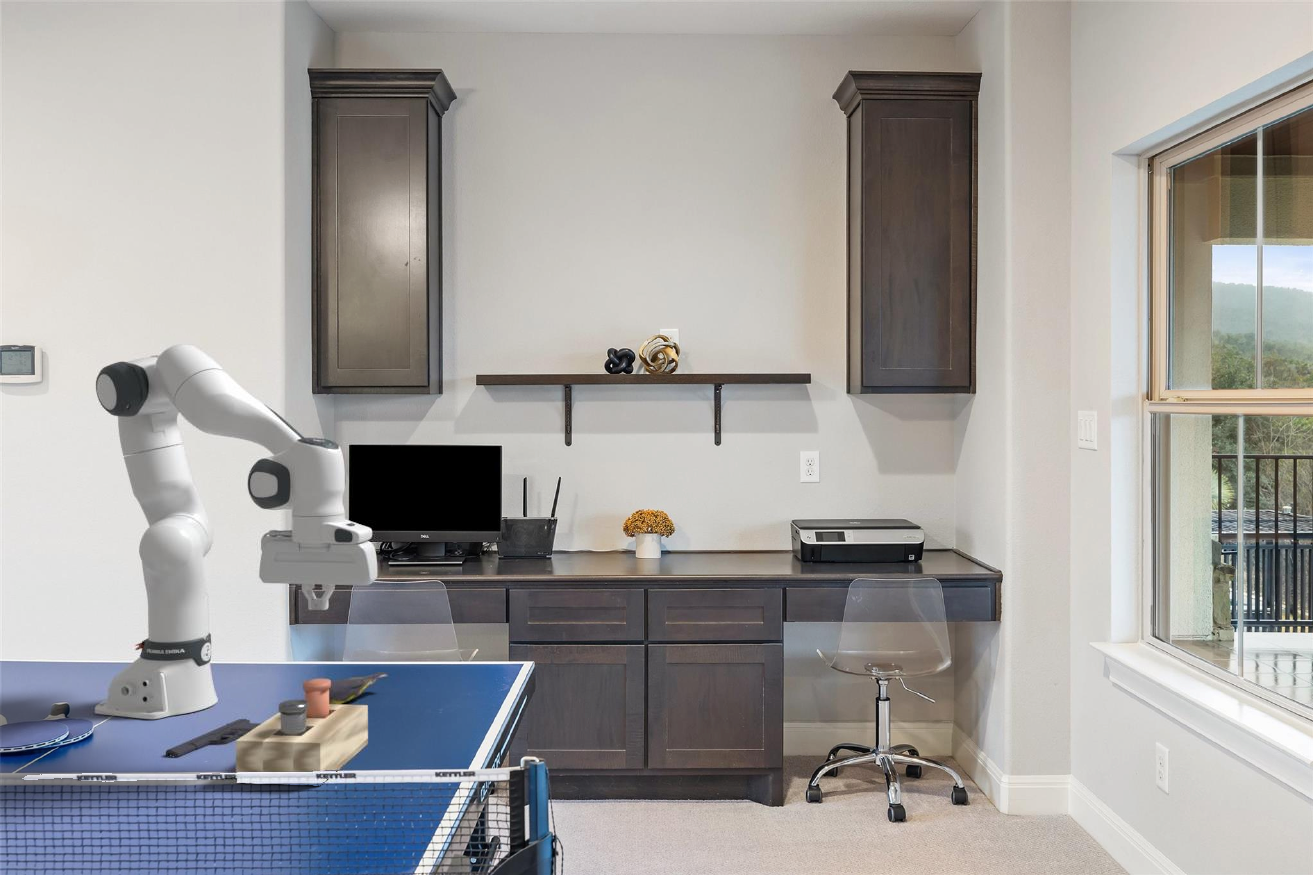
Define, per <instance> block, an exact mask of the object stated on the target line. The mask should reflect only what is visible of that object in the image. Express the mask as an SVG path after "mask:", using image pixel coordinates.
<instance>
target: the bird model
mask: <svg viewBox="0 0 1313 875" xmlns="http://www.w3.org/2000/svg"><path fill="white" fill-rule="evenodd" d="M388 676H389V675H388V674H387V673H385V672H376V673H374V674H370V675H364V676H358V677H356V676H355V677H354V676H353V677H347V678H340V679H338V680H334V681H331V687H330V688H329V704H338V705H343V704H344V703H347V702H348V701H351V700H352V699H354V698H356V697H359V696H360V695H361V694H362V693H363V691H365V690H366V688H369V687H371V686H373V685H375V683H376V682H377V680H378V679H380V678H384V677H388Z"/></svg>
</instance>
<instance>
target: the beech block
mask: <svg viewBox="0 0 1313 875" xmlns="http://www.w3.org/2000/svg"><path fill="white" fill-rule="evenodd" d="M368 706H369V705H367V704H340V705H338V704H329V716H328V717H326V718H325V719H321V718H306V733H305V734H303V735H302V736H282V735H281V713H279V712H278V713H276V714H274V715H272V716H271V717H270V718H268V719H267V720H265V721H264V722H262V723H261V725H259V726H257V727H256V728H254V729H253V730H251V731H250V732H248V733H247V734H245V735H244V736H242V737H241V738H238V739H236V740H235V773H236V772H313V771H325V770H338V771H339V770H341V769H342V768H343V767H344V766H346V764H348V762H350V760H352V759H353V758H354V757H355V756H356V755H357V754H358V753H359V752H361V751H362V750H363V749H364V748H365V747H366V746H367V745H369V711H368V710H369V707H368ZM343 765H344V766H343ZM341 767H342V768H341Z"/></svg>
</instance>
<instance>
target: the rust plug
mask: <svg viewBox="0 0 1313 875" xmlns="http://www.w3.org/2000/svg"><path fill="white" fill-rule="evenodd" d="M331 682H332V681H331V680H330V679H328V678H312V679H308V680H305V681H303V682H302V690H303V691H304V700H306V701H308V710H306V718H321V719H325V718H326V717H328V716H329V688H330V687H331Z"/></svg>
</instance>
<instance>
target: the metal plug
mask: <svg viewBox="0 0 1313 875" xmlns="http://www.w3.org/2000/svg"><path fill="white" fill-rule="evenodd" d="M306 710H308V701H306V700H305V699H288V700H285V701H282V702H280V703H278V713H281V735H282V736H302V735H303V734H305V733H306Z"/></svg>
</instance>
